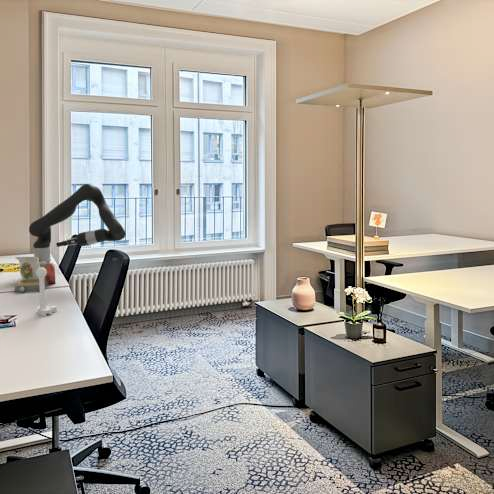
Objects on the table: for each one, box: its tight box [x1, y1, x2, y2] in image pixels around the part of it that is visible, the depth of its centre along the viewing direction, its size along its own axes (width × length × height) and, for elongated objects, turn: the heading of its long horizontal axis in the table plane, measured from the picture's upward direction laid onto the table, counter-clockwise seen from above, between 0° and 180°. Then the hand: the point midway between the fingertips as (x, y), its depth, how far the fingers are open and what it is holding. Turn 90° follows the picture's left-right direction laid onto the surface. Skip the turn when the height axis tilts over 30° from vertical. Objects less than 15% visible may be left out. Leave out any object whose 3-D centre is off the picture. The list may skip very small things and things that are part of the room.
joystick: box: [36, 267, 57, 317], centre depth 221 cm, size 11×8×20 cm
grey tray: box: [14, 278, 49, 293], centre depth 270 cm, size 16×14×4 cm
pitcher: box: [14, 256, 46, 280], centre depth 295 cm, size 11×18×14 cm, turn 93°
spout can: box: [44, 258, 57, 286], centre depth 284 cm, size 6×6×15 cm
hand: (59, 244), depth 282 cm, fingers open, 8 cm apart
